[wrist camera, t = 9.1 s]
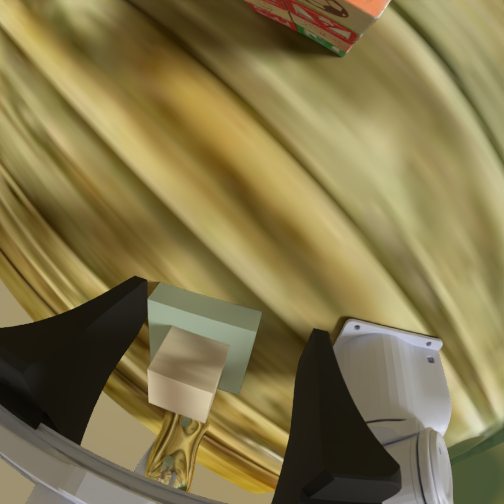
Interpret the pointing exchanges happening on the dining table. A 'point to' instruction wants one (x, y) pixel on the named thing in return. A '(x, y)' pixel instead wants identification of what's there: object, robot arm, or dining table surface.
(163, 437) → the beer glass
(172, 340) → the ash cube
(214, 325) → the green slab
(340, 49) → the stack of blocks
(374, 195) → the dining table surface
